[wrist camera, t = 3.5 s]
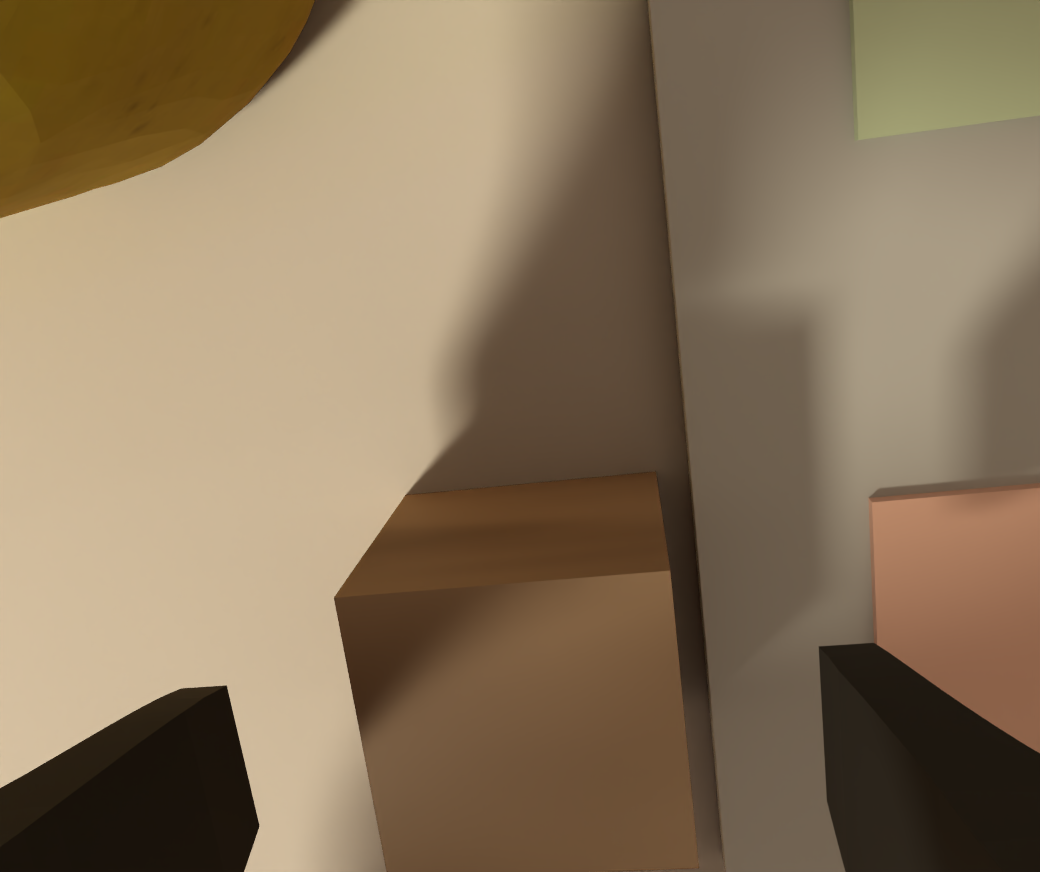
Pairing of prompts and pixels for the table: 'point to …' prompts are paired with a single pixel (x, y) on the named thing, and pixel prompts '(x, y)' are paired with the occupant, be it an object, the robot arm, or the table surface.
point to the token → (522, 681)
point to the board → (853, 368)
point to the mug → (125, 85)
